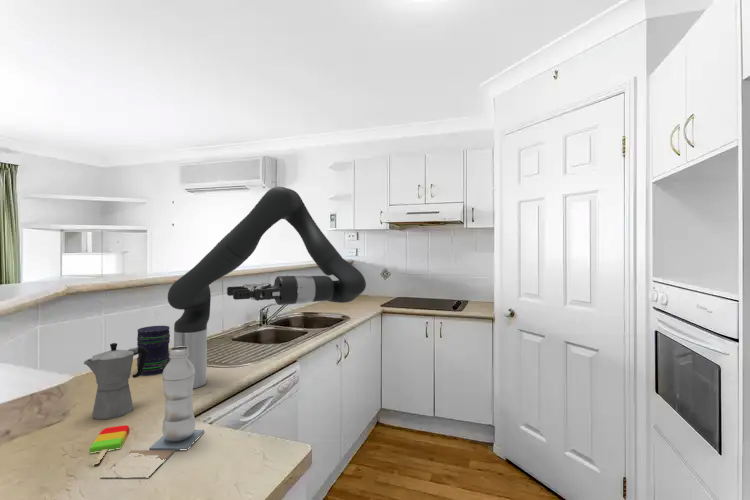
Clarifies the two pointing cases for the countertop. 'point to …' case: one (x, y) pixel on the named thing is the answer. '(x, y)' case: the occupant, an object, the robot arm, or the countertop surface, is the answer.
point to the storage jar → (154, 348)
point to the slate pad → (184, 444)
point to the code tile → (153, 453)
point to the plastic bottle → (178, 396)
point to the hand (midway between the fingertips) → (230, 293)
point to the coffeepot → (114, 380)
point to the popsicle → (110, 439)
